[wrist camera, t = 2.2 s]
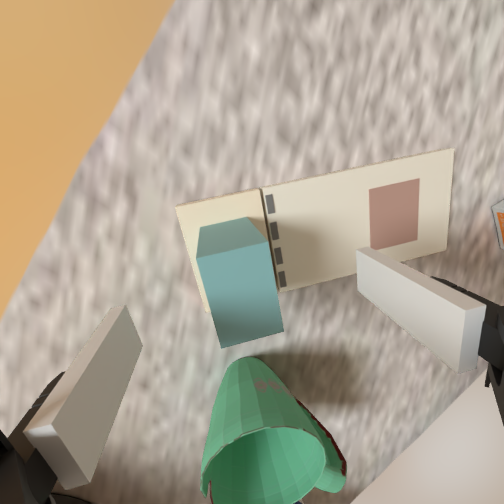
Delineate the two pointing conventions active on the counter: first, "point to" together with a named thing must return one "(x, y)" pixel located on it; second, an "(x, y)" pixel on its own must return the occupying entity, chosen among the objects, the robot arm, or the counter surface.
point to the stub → (233, 264)
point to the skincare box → (499, 221)
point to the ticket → (357, 216)
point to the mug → (265, 442)
